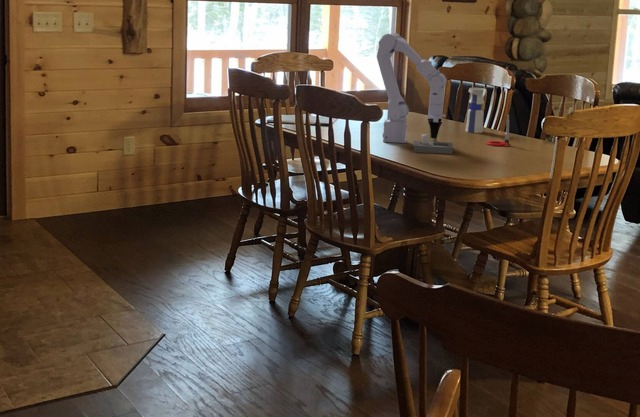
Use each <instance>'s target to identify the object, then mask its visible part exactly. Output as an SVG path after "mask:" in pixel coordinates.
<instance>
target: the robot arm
mask: <svg viewBox="0 0 640 417" xmlns="http://www.w3.org/2000/svg"><path fill="white" fill-rule="evenodd" d="M377 48H378V49H377V53H376V60H377V63H378V68H379V71H380V74H381V78H382V81H383V85H384V88H385V91H386V95H387V98H388V99H387V117H388V116H389V117H390V118H389V120H387V119H384V120H383V121H384V122H383V132H382V138H383V139H382V142H383V143H401V144H406V143H407V138H406V133H407V121H408V120H407V116H408V115H409V113H410V109H409V106H408V105H407V104H406V102H405V99H404V98H403V96H402V95H401V92H400V89H399V88H400V87H399V85H398V82H397V81H398V80H397V77H396V74H395V70H394V67H393V64H392V59H391V58H392V57H393V54H394V53H395V52H401V53H402V54H404V55H405V56H406V57H407V58H408V59H409V60H410V61H411V62H412V63H413V64H415V65H416V66H415V67H416V71H417V72H418V73H419V74H420V75H421V77H423V78H424V79H425V80H426V81H427V82H428V86H429V87H430V89H429V90H430V91H429V103H428V114H427V117H428V118H427V123H428V126H429V125H430V131H431V138H437V135H438V131H439V128H441V126H442V124H443V120H442V118H446V114H444V112H443V111H444V101H445V98H444V97H445V85H446V84H447V82H448V81H447V77H446V75H445V74H444V73H441V71H440V70H439V69H438V70H437V68H436V67H435V66H434V65H433V63H432V61H431V60H428V59H423V58H421V57H420V55H419V54H418V53H417V51H415V50H414V48H413V47H412V46H411V45H410V44H409V42H408V41H407V40H406V39H405V38H403V37H402V36H401V35H400V34H399V33H398V32H393V33H386V34H383V35H382V36H381V38H380V40H379V41H378V47H377Z"/></svg>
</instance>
